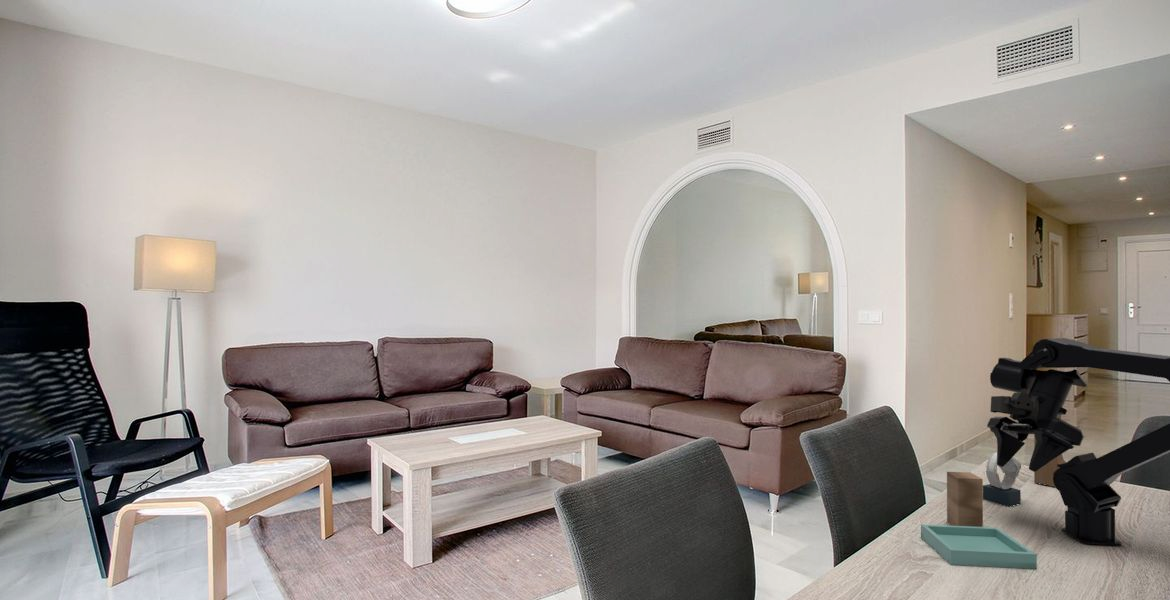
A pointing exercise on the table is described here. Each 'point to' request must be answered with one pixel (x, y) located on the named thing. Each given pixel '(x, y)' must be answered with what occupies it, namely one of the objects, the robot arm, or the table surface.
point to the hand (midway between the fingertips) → (1015, 468)
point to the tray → (978, 546)
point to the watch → (1002, 490)
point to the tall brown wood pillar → (964, 499)
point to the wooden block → (1048, 469)
